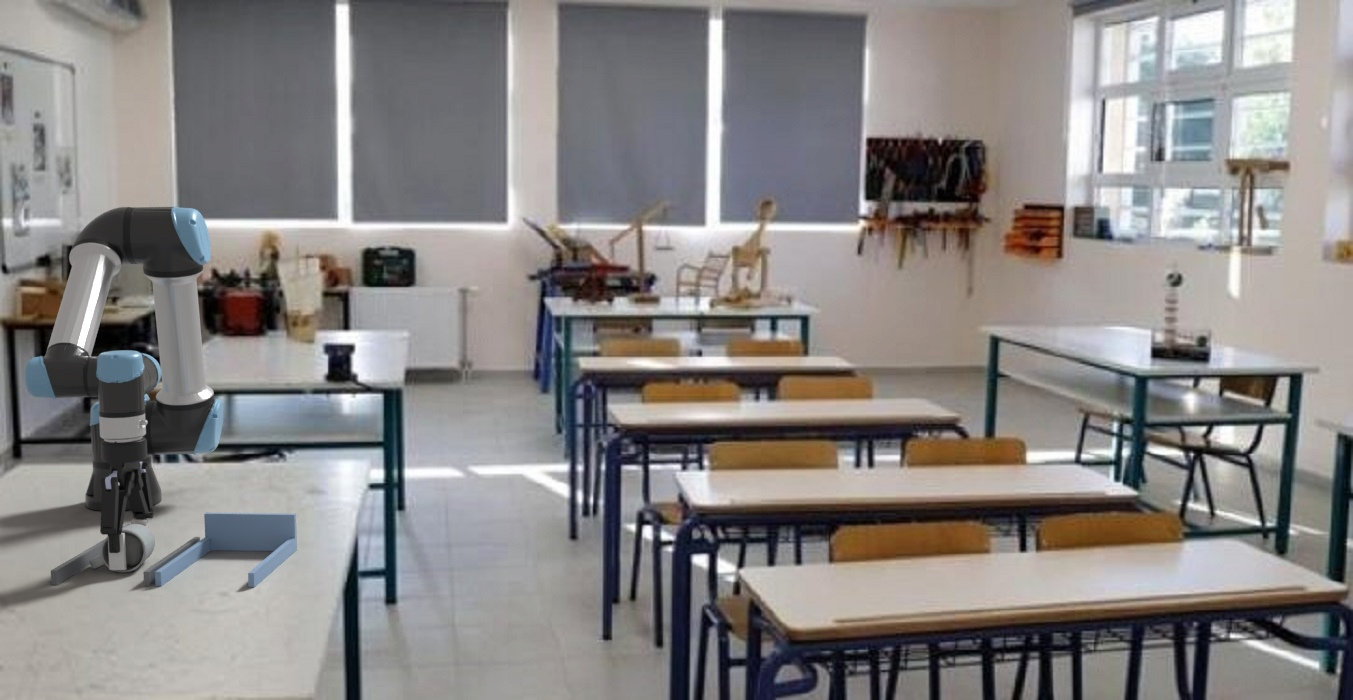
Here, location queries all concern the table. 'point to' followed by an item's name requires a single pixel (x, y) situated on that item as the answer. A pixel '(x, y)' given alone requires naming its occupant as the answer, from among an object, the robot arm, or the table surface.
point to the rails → (83, 558)
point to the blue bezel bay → (240, 542)
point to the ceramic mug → (129, 548)
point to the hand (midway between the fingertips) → (129, 561)
